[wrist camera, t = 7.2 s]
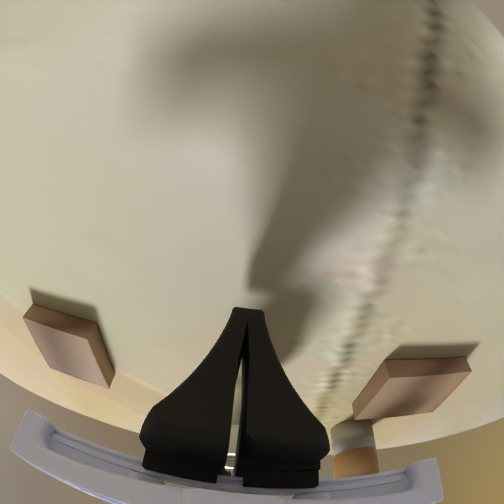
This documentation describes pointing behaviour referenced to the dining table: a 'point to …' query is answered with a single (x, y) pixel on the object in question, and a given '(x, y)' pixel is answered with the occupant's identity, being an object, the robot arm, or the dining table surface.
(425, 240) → the dining table surface
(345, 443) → the marker peg
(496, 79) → the dining table surface
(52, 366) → the blocks
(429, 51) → the dining table surface
